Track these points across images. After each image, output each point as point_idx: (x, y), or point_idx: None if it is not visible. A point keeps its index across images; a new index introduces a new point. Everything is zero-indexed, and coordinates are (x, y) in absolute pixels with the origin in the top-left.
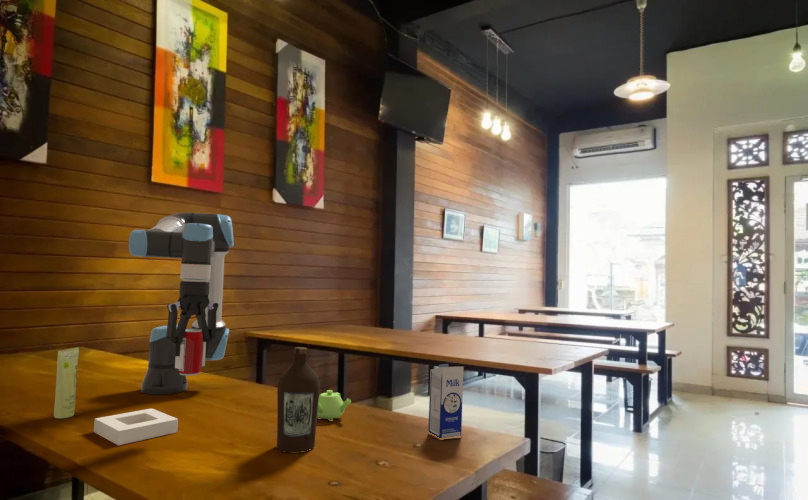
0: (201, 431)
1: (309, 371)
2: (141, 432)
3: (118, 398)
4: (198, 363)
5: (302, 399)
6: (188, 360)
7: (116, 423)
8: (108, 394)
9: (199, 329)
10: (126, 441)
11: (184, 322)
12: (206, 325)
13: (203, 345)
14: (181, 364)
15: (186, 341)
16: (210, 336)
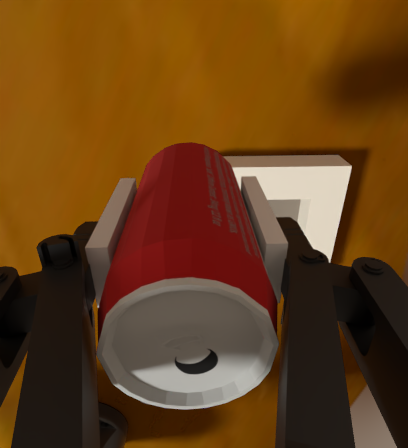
0: (148, 120)
1: None
2: (292, 161)
3: (177, 416)
4: (169, 160)
5: None
6: (227, 177)
7: (319, 226)
8: (179, 440)
9: (107, 361)
10: (322, 156)
11: (335, 405)
12: (32, 365)
13: (111, 234)
14: (253, 186)
15: (257, 250)
16: (24, 290)
